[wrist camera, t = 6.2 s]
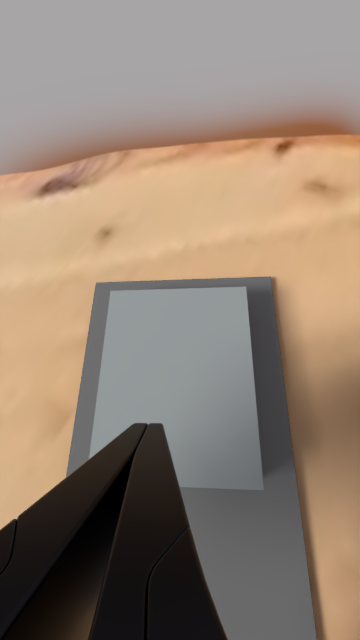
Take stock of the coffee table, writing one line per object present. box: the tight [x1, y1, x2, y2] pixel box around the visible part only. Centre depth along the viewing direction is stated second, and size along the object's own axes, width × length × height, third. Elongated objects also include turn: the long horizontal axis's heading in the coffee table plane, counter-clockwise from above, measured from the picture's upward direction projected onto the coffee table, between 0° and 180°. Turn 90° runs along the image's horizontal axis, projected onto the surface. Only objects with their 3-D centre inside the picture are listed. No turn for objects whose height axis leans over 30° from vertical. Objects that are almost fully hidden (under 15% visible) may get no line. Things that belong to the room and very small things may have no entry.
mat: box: [66, 277, 317, 640], centre depth 15 cm, size 18×12×1 cm, turn 179°
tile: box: [89, 287, 264, 490], centre depth 15 cm, size 2×8×10 cm
